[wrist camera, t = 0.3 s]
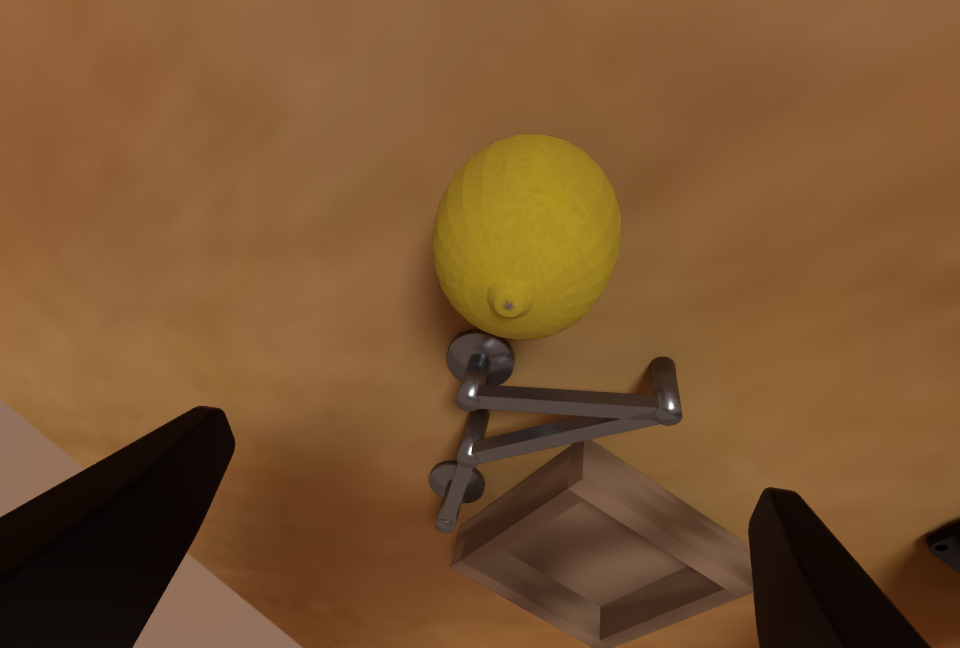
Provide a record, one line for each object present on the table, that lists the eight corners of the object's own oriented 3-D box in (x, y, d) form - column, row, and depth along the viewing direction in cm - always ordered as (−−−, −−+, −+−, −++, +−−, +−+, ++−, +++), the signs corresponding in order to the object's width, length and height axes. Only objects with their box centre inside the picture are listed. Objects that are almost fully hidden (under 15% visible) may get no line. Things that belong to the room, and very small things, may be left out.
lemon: (639, 225, 20) (652, 366, 14) (501, 269, 22) (458, 408, 16) (589, 75, 18) (576, 163, 11) (438, 141, 20) (357, 246, 13)
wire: (680, 365, 23) (688, 416, 21) (479, 512, 32) (468, 560, 30) (530, 255, 22) (520, 296, 19) (359, 441, 30) (338, 486, 28)
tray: (745, 543, 29) (756, 591, 27) (601, 609, 35) (600, 652, 33) (584, 436, 27) (582, 478, 25) (460, 526, 33) (450, 567, 31)
